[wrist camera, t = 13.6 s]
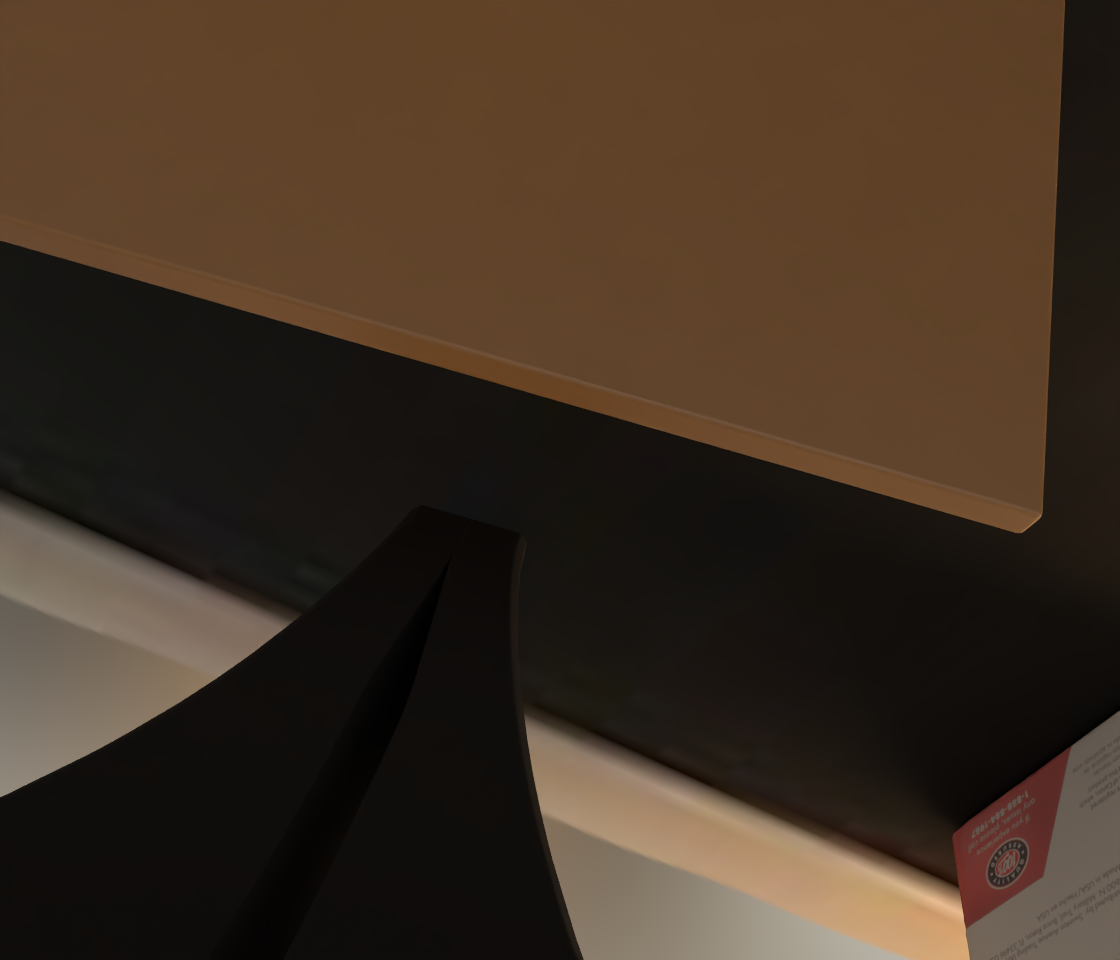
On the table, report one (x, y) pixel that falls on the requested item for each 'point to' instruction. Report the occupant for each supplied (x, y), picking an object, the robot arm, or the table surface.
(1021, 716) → the table surface
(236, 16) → the flap
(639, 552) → the table surface
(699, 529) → the table surface
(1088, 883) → the ink cartridge box
